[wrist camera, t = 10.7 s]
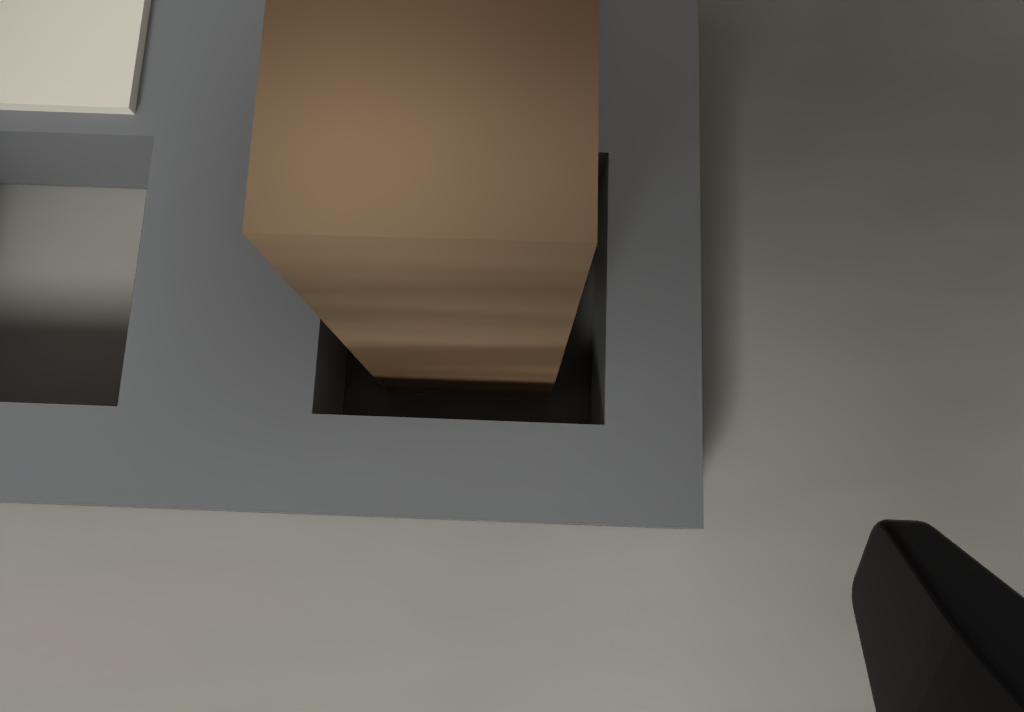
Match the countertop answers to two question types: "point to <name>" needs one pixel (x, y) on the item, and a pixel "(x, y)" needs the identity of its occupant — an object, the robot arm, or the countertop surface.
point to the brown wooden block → (431, 181)
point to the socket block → (297, 328)
